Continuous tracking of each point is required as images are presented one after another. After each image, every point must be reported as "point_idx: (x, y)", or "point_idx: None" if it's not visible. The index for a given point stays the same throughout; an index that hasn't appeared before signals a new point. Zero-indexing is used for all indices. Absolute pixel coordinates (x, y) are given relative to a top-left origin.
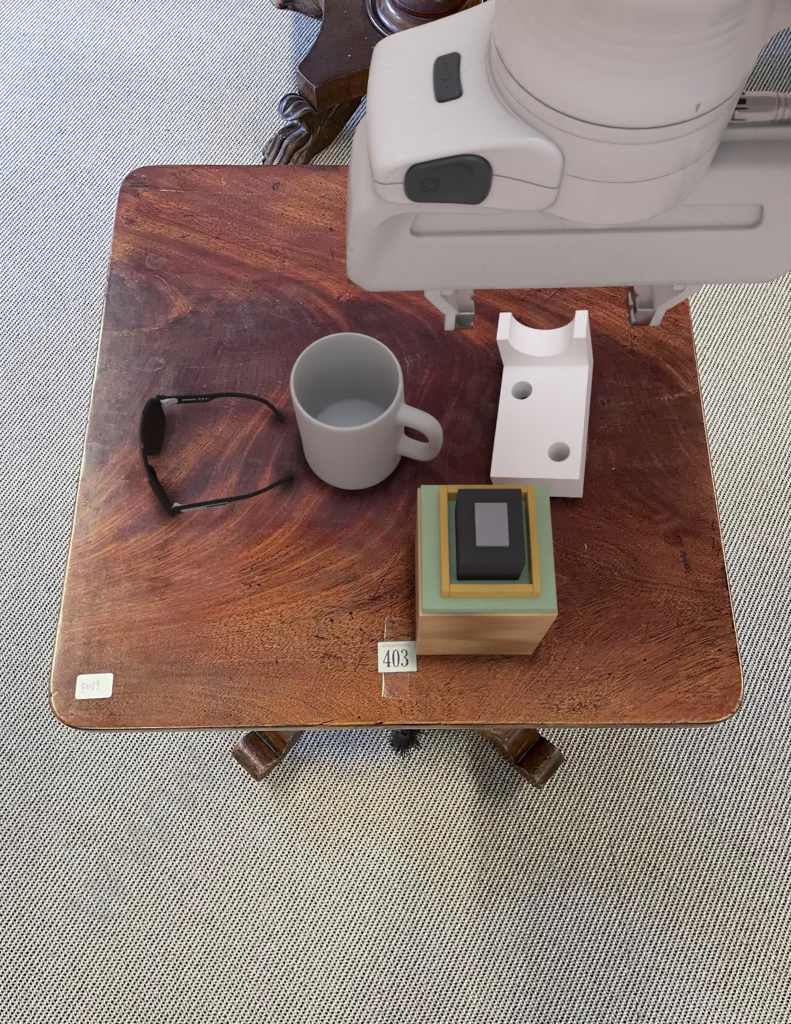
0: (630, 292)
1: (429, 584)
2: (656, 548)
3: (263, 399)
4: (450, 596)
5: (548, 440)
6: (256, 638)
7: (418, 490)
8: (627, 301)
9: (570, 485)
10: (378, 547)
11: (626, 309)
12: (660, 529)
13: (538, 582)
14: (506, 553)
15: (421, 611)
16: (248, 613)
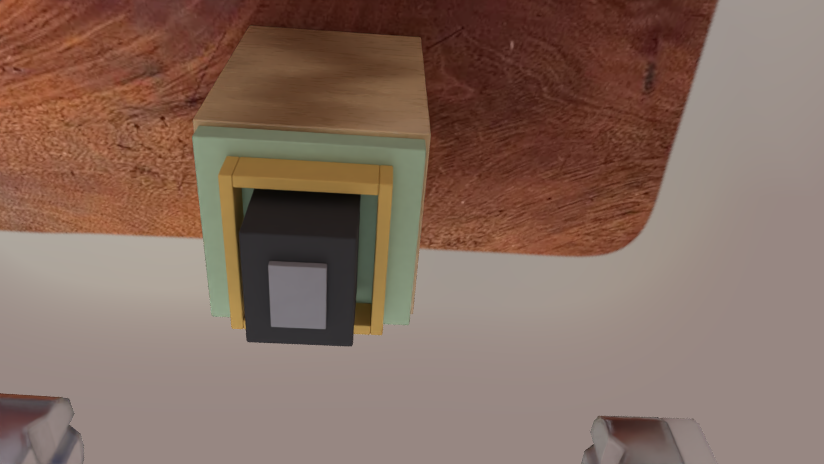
0: (618, 445)
1: (219, 287)
2: (615, 56)
3: None
4: None
5: None
6: (35, 143)
7: (194, 123)
8: (601, 433)
9: None
10: (191, 23)
11: (592, 429)
12: (632, 26)
13: (379, 325)
14: (322, 332)
15: None
16: (13, 109)
